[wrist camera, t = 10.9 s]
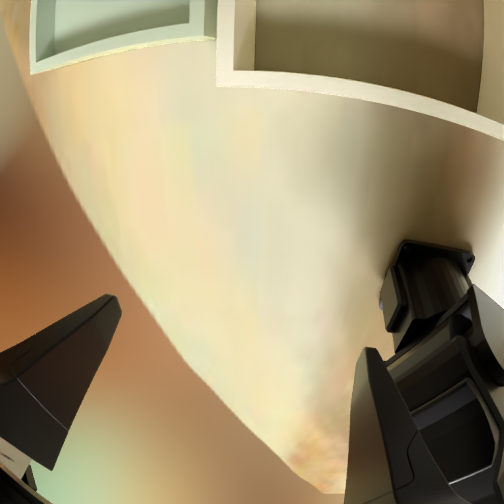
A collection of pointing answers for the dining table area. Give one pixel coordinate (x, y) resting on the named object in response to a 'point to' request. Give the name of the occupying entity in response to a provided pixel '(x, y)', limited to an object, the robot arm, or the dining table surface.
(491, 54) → the cream square bin
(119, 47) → the tray
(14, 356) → the robot arm
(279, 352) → the dining table surface
